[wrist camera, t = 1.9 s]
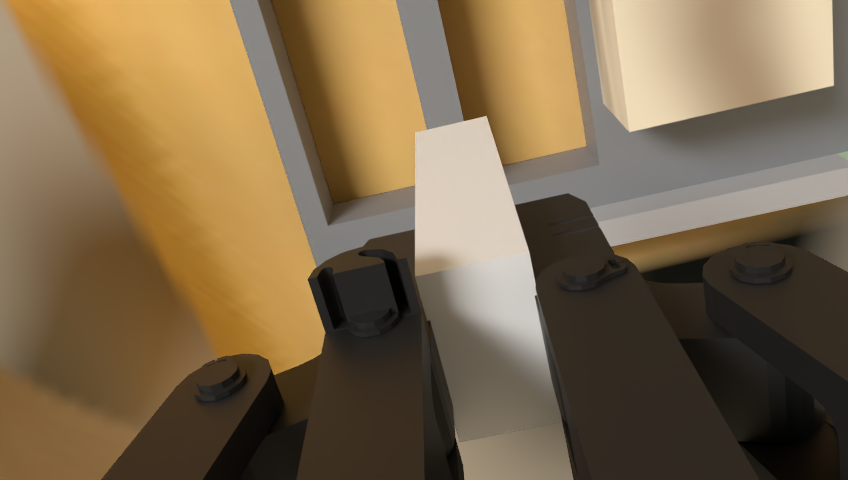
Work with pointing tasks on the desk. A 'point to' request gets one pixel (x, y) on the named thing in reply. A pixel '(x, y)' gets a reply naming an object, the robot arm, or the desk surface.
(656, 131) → the lane deck
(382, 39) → the desk surface
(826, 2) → the block
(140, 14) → the desk surface
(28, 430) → the desk surface
